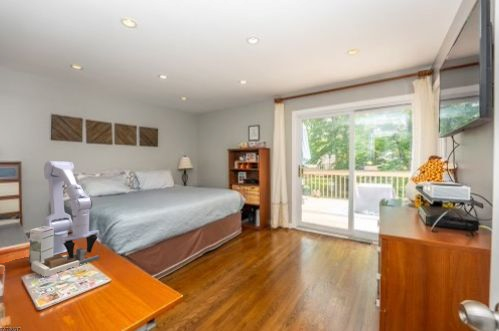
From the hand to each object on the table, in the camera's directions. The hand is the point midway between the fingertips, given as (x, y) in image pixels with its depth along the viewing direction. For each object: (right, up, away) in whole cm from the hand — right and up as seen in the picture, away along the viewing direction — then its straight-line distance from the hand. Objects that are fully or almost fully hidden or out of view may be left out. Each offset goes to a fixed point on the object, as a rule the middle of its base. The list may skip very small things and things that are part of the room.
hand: (80, 254), depth 100 cm
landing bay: (0, -2, +1) cm, 3 cm away
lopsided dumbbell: (-3, -2, -5) cm, 6 cm away
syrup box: (-16, -2, -2) cm, 16 cm away
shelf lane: (-4, -2, -7) cm, 8 cm away
